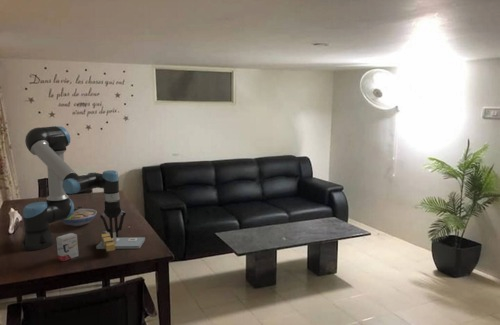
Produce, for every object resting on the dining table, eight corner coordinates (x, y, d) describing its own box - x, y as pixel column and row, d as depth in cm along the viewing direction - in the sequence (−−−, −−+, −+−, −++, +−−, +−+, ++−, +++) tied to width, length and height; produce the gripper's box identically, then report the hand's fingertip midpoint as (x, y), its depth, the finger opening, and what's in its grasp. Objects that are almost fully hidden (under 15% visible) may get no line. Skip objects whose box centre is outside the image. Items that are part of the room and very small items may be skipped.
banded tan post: (100, 239, 216) (100, 231, 215) (108, 237, 218) (108, 230, 217) (106, 252, 197) (106, 244, 196) (115, 251, 199) (114, 242, 198)
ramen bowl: (82, 232, 233) (81, 219, 232) (49, 229, 238) (48, 217, 237) (105, 219, 258) (105, 208, 256) (75, 217, 262) (74, 206, 261)
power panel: (96, 249, 208) (96, 245, 207) (104, 240, 220) (104, 237, 220) (139, 248, 208) (139, 245, 208) (145, 239, 221) (144, 236, 221)
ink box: (63, 262, 191) (61, 239, 189) (57, 259, 194) (55, 237, 192) (79, 256, 198) (77, 234, 196) (73, 254, 201) (71, 232, 199)
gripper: (99, 203, 194) (102, 248, 198) (125, 200, 199) (128, 244, 203) (98, 200, 200) (101, 243, 204) (124, 197, 206) (126, 239, 210)
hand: (114, 243), depth 204 cm, fingers closed
